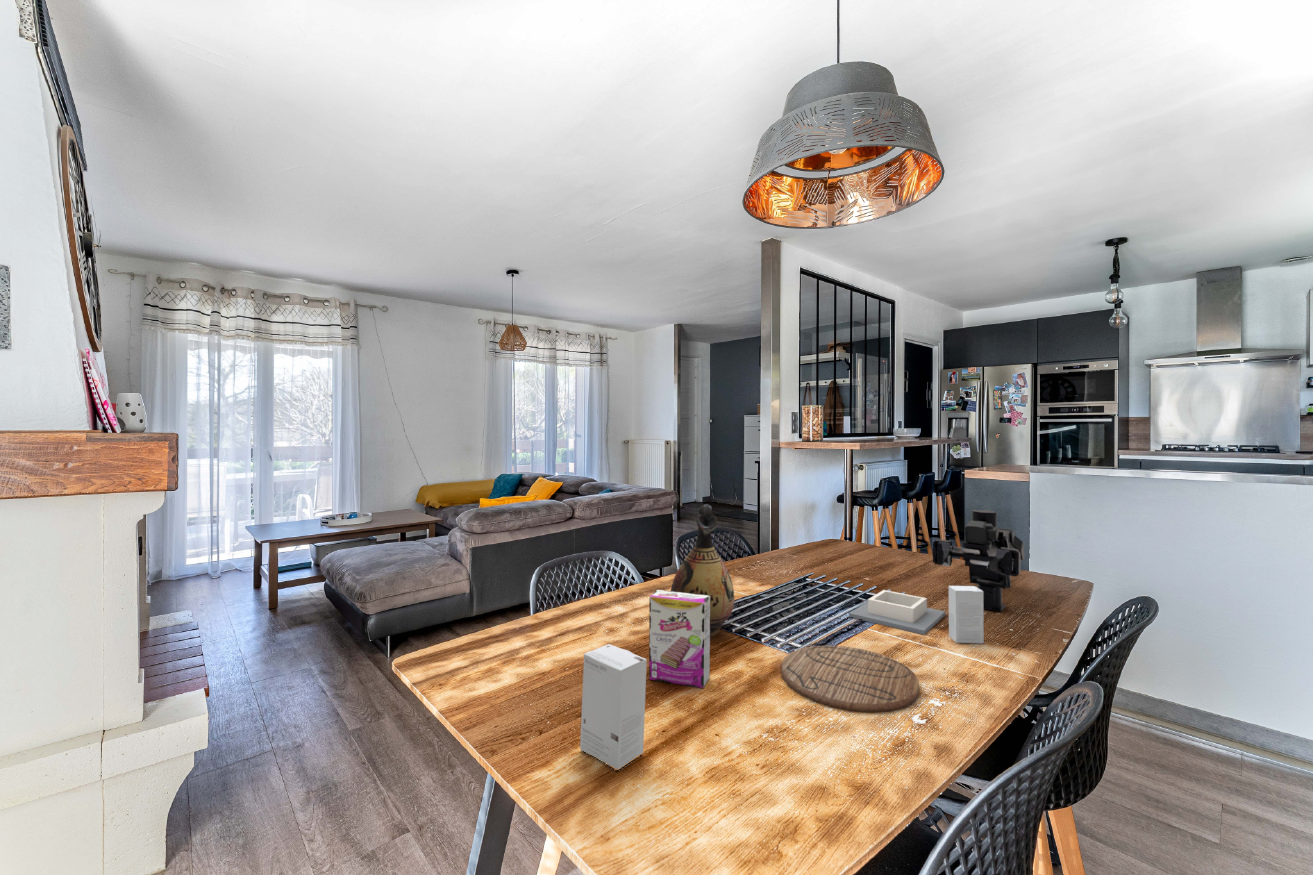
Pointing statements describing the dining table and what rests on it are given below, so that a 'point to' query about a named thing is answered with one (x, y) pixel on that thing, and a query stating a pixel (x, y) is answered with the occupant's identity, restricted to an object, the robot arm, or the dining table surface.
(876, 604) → the holder
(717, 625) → the ceramic jug
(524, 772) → the dining table surface
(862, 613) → the slate board
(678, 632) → the candy bar box
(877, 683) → the trivet
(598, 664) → the skincare box
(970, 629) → the skincare box
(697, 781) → the dining table surface
